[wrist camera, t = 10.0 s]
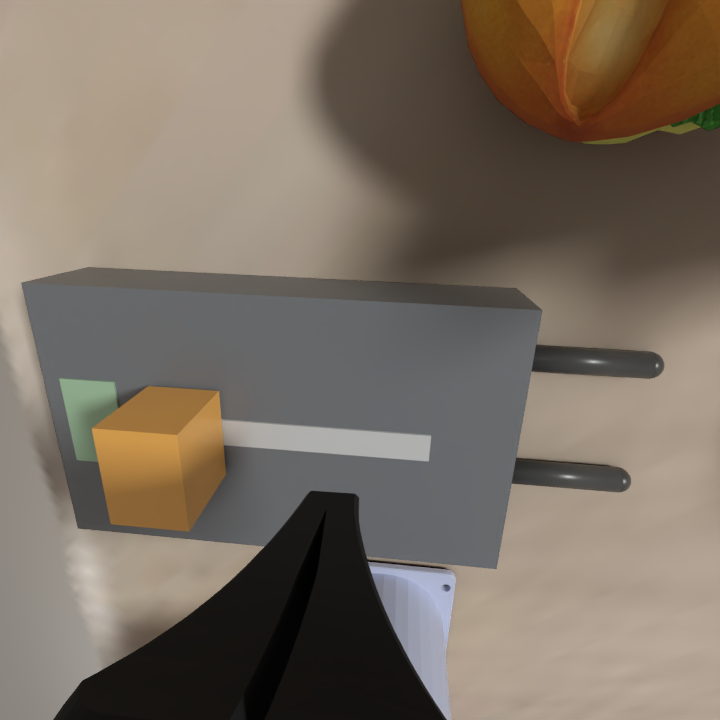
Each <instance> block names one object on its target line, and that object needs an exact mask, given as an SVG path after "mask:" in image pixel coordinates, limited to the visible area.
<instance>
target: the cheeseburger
mask: <svg viewBox="0 0 720 720" xmlns="http://www.w3.org/2000/svg"><path fill="white" fill-rule="evenodd" d="M461 6H462V12H463V18H464V24H465V30H466V36H467V43H468V48H469V50H470V52H471V54H472V57H473V59H474V61H475V64H476V66H477V68H478V71H479V73H480V75H481V77H482V78H483V80H484V81H485V82H486V84H487V85H488V87H489V88H490V90H491V91H492V93H493V94H494V95H495V97H496V98H497V100H499V101H500V102H501V103H502V104H503V105H505V106H506V107H507V108H508V109H509V110H511V111H512V112H513V113H514V114H515V115H517V116H518V117H519V118H520V119H521V120H523V121H524V122H525V123H527V124H529V125H531V126H533V127H536V128H538V129H540V130H542V131H544V132H547V133H549V134H551V135H553V136H556V137H558V138H561V139H563V140H567V141H572V142H583V143H585V144H603V145H605V144H617V143H626V142H629V141H631V140H634V139H636V138H639V137H642V136H644V135H647V134H649V133H652V132H654V131H657V130H660V131H665V132H670V133H675V134H683V133H686V132H689V131H692V130H695V129H698V128H701V127H702V128H704V129H705V130H707V131H711V130H713V129H715V128H718V127H720V0H461Z"/></svg>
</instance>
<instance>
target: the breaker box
mask: <svg viewBox="0 0 720 720" xmlns="http://www.w3.org/2000/svg"><path fill="white" fill-rule="evenodd" d="M21 284H22V288H23V292H24V297H25V301H26V305H27V310H28V314H29V318H30V323H31V327H32V331H33V335H34V340H35V344H36V348H37V353H38V357H39V361H40V366H41V370H42V374H43V379H44V383H45V387H46V392H47V396H48V400H49V405H50V409H51V413H52V418H53V422H54V426H55V431H56V435H57V439H58V444H59V448H60V452H61V456H62V461H63V465H64V469H65V474H66V478H67V482H68V487H69V491H70V495H71V500H72V504H73V508H74V513H75V517H76V521H77V526H78V528H81V529H91V530H101V531H112V532H122V533H132V534H142V535H153V536H163V537H173V538H184V539H194V540H204V541H214V542H225V543H235V544H245V545H256V546H266V545H267V544H268V543H269V541H270V540H271V539H272V538H273V537H274V536H275V534H276V533H277V532H278V531H279V530H280V529H281V527H282V526H283V525H284V524H285V523H286V521H287V520H288V519H289V518H290V516H291V515H292V514H293V513H294V511H295V510H296V509H297V507H298V506H299V505H300V503H301V502H302V501H303V499H304V498H305V496H306V495H307V494H308V493H309V492H310V491H324V492H339V493H354V494H356V495H357V496H358V497H359V524H360V531H361V536H362V540H363V545H364V549H365V553H366V556H369V557H379V558H389V559H399V560H410V561H420V562H430V563H440V564H451V565H461V566H471V567H482V568H492V569H496V568H497V563H498V557H499V551H500V546H501V540H502V534H503V529H504V523H505V518H506V512H507V506H508V501H509V495H510V489H511V484H524V485H536V486H548V487H560V488H572V489H584V490H597V491H609V492H623V491H625V490H627V489H628V488H629V487H630V485H631V478H630V475H629V474H628V473H627V472H626V471H625V470H624V469H622V468H619V467H610V466H598V465H585V464H572V463H559V462H547V461H534V460H521V459H516V455H517V450H518V444H519V439H520V433H521V427H522V422H523V416H524V410H525V405H526V399H527V393H528V388H529V382H530V376H531V371H534V372H550V373H566V374H582V375H598V376H613V377H629V378H645V379H650V378H655V377H657V376H659V375H660V374H661V373H662V371H663V369H664V361H663V359H662V358H661V357H660V356H659V355H658V354H656V353H654V352H648V351H631V350H614V349H597V348H579V347H562V346H545V345H536V343H537V337H538V331H539V326H540V320H541V314H542V310H541V309H540V308H539V307H538V306H537V305H536V304H534V303H533V302H532V301H531V300H530V299H529V298H527V297H526V296H525V295H524V294H523V293H521V292H520V291H519V290H518V289H517V288H499V287H478V286H458V285H438V284H417V283H397V282H377V281H357V280H336V279H316V278H296V277H275V276H255V275H235V274H214V273H194V272H174V271H154V270H133V269H113V268H93V267H87V268H83V269H79V270H74V271H70V272H66V273H61V274H57V275H53V276H48V277H44V278H40V279H35V280H31V281H27V282H22V283H21ZM148 386H156V387H171V388H185V389H199V390H213V391H219V396H220V408H221V420H222V432H223V443H224V455H225V467H226V475H225V477H224V478H223V480H222V481H221V483H220V484H219V486H218V488H217V489H216V491H215V492H214V494H213V495H212V497H211V499H210V500H209V502H208V503H207V505H206V506H205V508H204V509H203V511H202V513H201V514H200V516H199V517H198V519H197V520H196V522H195V523H194V525H193V527H192V528H191V530H190V531H189V532H187V531H176V530H166V529H156V528H145V527H135V526H124V525H114V524H111V523H110V518H109V513H108V508H107V503H106V498H105V493H104V488H103V483H102V478H101V473H100V468H99V463H98V458H97V453H96V448H95V443H94V438H93V433H92V428H93V427H94V426H95V425H97V424H98V423H99V422H101V421H102V420H104V419H105V418H106V417H108V416H109V415H110V414H112V413H113V412H114V411H116V410H117V409H118V408H120V407H121V406H122V405H124V404H125V403H126V402H128V401H129V400H130V399H132V398H133V397H134V396H136V395H137V394H138V393H140V392H141V391H142V390H144V389H145V388H146V387H148Z"/></svg>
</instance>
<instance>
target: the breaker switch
mask: <svg viewBox="0 0 720 720" xmlns="http://www.w3.org/2000/svg"><path fill="white" fill-rule="evenodd" d="M92 433H93V438H94V443H95V448H96V453H97V458H98V463H99V468H100V473H101V478H102V483H103V488H104V493H105V498H106V503H107V508H108V513H109V518H110V523H111V524H114V525H124V526H135V527H145V528H156V529H166V530H176V531H187V532H189V531H190V530H191V528H192V527H193V525H194V523H195V522H196V520H197V519H198V517H199V516H200V514H201V513H202V511H203V509H204V508H205V506H206V505H207V503H208V502H209V500H210V499H211V497H212V495H213V494H214V492H215V491H216V489H217V488H218V486H219V484H220V483H221V481H222V480H223V478H224V477H225V475H226V467H225V455H224V443H223V432H222V420H221V408H220V396H219V391H213V390H199V389H185V388H171V387H156V386H148V387H146V388H145V389H144V390H142V391H141V392H140V393H138V394H137V395H136V396H134V397H133V398H132V399H130V400H129V401H128V402H126V403H125V404H124V405H122V406H121V407H120V408H118V409H117V410H116V411H114V412H113V413H112V414H110V415H109V416H108V417H106V418H105V419H104V420H102V421H101V422H99V423H98V424H97V425H95V426H94V427H93V428H92Z"/></svg>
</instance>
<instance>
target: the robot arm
mask: <svg viewBox="0 0 720 720" xmlns="http://www.w3.org/2000/svg"><path fill="white" fill-rule="evenodd" d="M455 582H456V580H455V574H454V573H453V572H452V571H451V570H447V569H437V568H426V567H416V566H406V565H396V564H386V563H375V562H368V560H367V557H366V553H365V549H364V545H363V540H362V536H361V531H360V524H359V497H358V496H357V495H356V494H354V493H339V492H324V491H310V492H309V493H308V494H307V495H306V496H305V498H304V499H303V501H302V502H301V503H300V505H299V506H298V507H297V509H296V510H295V511H294V513H293V514H292V515H291V516H290V518H289V519H288V520H287V521H286V523H285V524H284V525H283V526H282V527H281V529H280V530H279V531H278V532H277V533H276V534H275V536H274V537H273V538H272V539H271V540H270V541H269V543H268V544H267V545H266V546H265V547H264V548H263V549H262V550H261V551H260V552H259V553H258V554H257V555H256V556H255V557H254V558H253V559H252V560H251V562H250V563H249V564H248V565H247V566H246V567H245V568H244V569H243V570H242V571H240V572H239V573H238V574H237V575H236V576H235V577H234V578H233V579H232V580H231V581H230V582H229V583H227V584H226V585H225V586H224V587H223V588H222V589H221V590H220V591H218V592H217V593H216V594H215V595H214V596H212V597H211V598H210V599H209V600H207V601H206V602H205V603H204V604H202V605H201V606H200V607H199V608H197V609H196V610H195V611H194V612H192V613H191V614H190V615H188V616H187V617H186V618H184V619H183V620H182V621H180V622H179V623H177V624H176V625H174V626H173V627H171V628H170V629H169V630H167V631H166V632H164V633H163V634H161V635H160V636H158V637H157V638H155V639H154V640H152V641H151V642H149V643H147V644H146V645H144V646H143V647H141V648H139V649H138V650H136V651H135V652H133V653H131V654H130V655H128V656H126V657H124V658H122V659H121V660H119V661H117V662H115V663H114V664H112V665H110V666H108V667H107V668H105V669H103V670H101V671H99V672H98V673H96V674H94V675H92V676H90V677H89V678H87V679H85V680H83V681H82V682H81V683H80V684H79V686H78V687H77V689H76V690H75V691H74V693H73V694H72V695H71V696H70V697H69V699H68V700H67V701H66V702H65V704H64V705H63V707H62V708H61V710H60V711H59V712H58V714H57V715H56V717H55V718H54V720H451V712H450V701H449V689H448V677H447V666H446V648H447V640H448V633H449V626H450V619H451V611H452V604H453V597H454V590H455ZM443 585H448V586H443Z"/></svg>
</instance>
